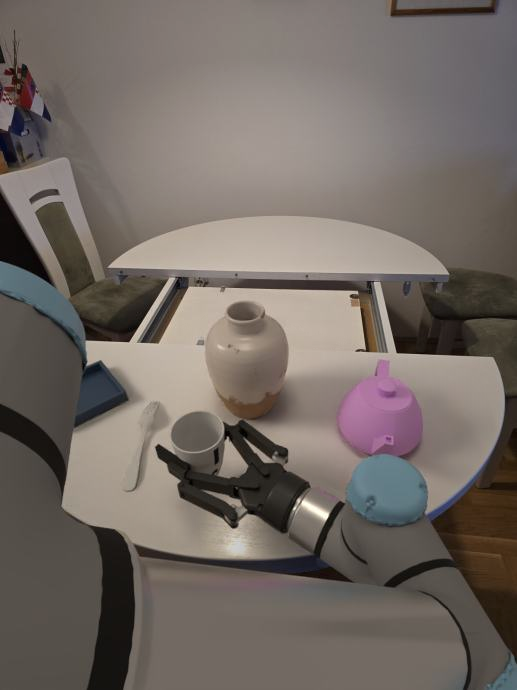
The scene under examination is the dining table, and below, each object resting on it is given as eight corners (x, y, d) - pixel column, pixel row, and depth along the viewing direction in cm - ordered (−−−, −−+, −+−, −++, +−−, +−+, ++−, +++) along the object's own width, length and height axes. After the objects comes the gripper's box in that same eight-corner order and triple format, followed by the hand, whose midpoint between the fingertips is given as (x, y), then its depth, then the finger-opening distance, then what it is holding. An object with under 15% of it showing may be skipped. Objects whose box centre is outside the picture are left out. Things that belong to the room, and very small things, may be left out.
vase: (282, 435, 77) (285, 341, 63) (203, 426, 80) (188, 333, 66) (290, 379, 90) (293, 290, 76) (221, 373, 92) (212, 285, 78)
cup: (222, 496, 62) (217, 456, 56) (172, 489, 64) (161, 449, 57) (233, 453, 69) (229, 413, 63) (187, 447, 70) (179, 407, 64)
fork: (123, 497, 70) (118, 489, 69) (148, 402, 85) (145, 393, 83) (139, 497, 70) (135, 490, 68) (162, 402, 85) (159, 393, 83)
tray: (64, 432, 79) (60, 423, 78) (43, 395, 88) (39, 386, 86) (129, 400, 86) (126, 391, 84) (103, 368, 94) (100, 359, 93)
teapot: (338, 386, 88) (344, 342, 80) (412, 394, 85) (426, 350, 78) (333, 472, 71) (340, 426, 63) (426, 486, 68) (445, 440, 61)
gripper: (255, 589, 50) (132, 493, 61) (332, 472, 63) (220, 410, 74) (253, 561, 45) (121, 463, 56) (337, 441, 58) (216, 380, 69)
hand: (177, 433), depth 65 cm, fingers closed on cup, 8 cm apart
